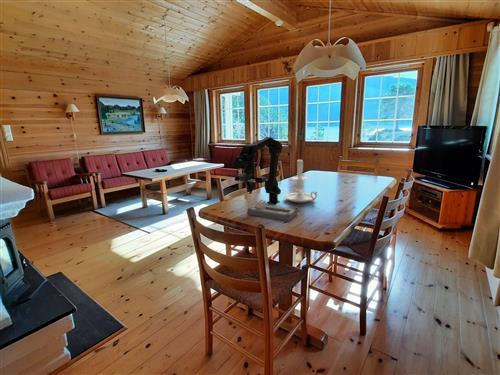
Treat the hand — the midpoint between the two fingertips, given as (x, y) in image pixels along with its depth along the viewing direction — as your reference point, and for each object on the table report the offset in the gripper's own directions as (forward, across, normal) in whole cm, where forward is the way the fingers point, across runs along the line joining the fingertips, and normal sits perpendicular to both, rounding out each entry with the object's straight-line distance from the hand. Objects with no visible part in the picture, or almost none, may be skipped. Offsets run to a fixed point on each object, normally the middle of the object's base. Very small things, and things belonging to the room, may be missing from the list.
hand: (250, 192), depth 159 cm
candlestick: (+12, +20, +32) cm, 39 cm away
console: (+11, +14, 0) cm, 18 cm away
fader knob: (+9, +7, 0) cm, 11 cm away
